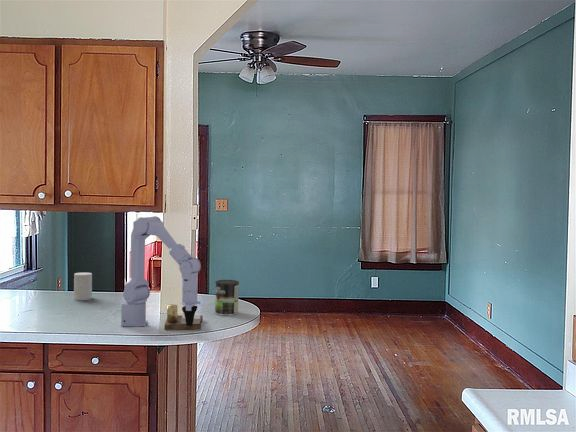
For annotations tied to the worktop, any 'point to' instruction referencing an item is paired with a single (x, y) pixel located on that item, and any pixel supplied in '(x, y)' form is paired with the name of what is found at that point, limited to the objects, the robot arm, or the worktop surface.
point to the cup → (83, 286)
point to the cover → (195, 321)
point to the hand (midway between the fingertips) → (189, 325)
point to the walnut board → (182, 325)
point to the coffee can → (226, 297)
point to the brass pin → (172, 313)
